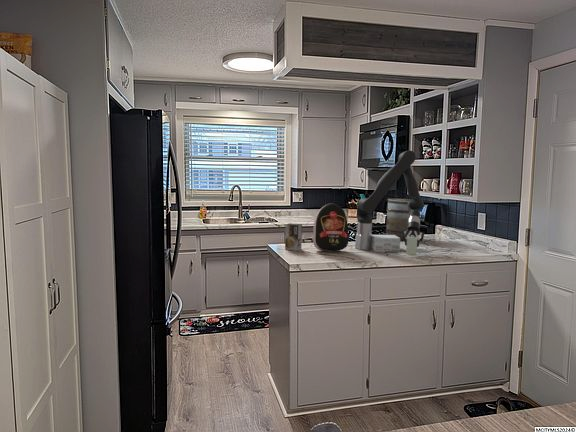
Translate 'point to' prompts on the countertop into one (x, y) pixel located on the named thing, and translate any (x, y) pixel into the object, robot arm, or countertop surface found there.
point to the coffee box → (293, 236)
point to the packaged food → (330, 228)
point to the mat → (423, 251)
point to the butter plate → (410, 254)
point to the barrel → (397, 217)
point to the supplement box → (385, 243)
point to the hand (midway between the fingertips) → (411, 245)
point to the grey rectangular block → (411, 244)
